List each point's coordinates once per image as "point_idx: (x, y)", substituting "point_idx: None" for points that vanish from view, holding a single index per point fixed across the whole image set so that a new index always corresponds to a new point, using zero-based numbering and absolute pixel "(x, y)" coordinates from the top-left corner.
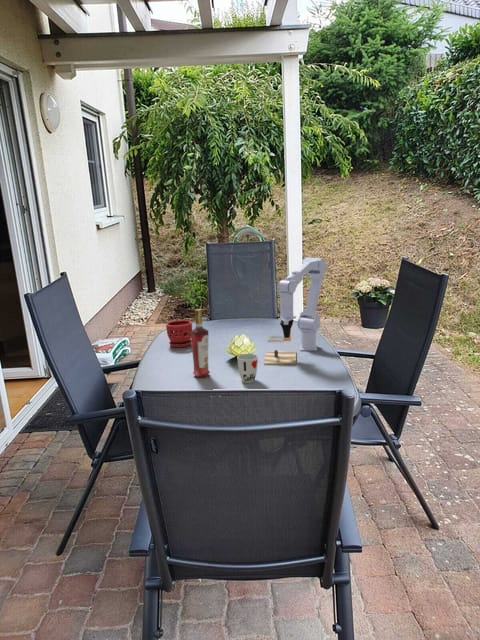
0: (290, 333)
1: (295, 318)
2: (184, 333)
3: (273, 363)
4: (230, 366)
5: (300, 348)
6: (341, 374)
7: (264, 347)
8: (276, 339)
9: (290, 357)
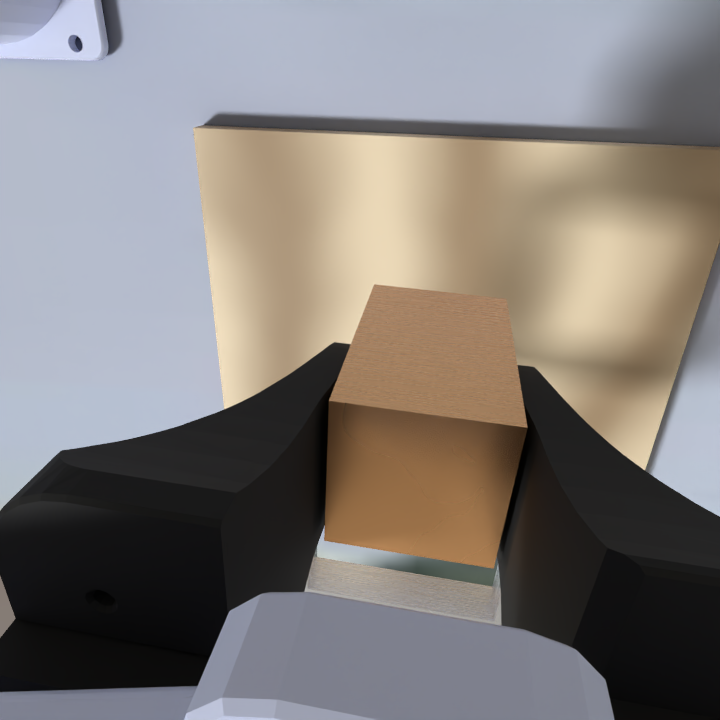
0: (518, 381)
1: (588, 663)
2: None
3: (661, 413)
4: None
5: (48, 55)
6: None
7: (76, 445)
8: None
9: (473, 216)
